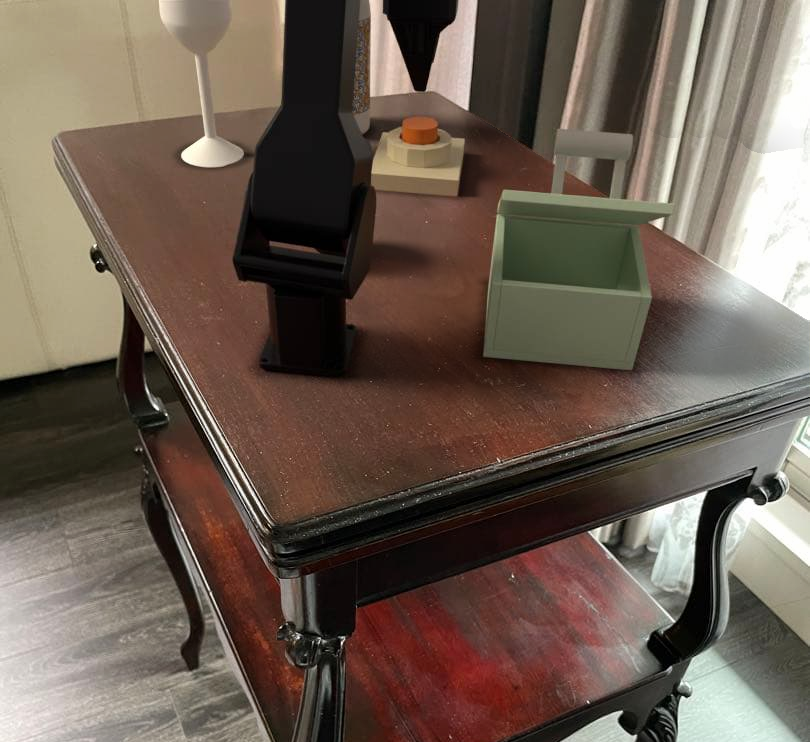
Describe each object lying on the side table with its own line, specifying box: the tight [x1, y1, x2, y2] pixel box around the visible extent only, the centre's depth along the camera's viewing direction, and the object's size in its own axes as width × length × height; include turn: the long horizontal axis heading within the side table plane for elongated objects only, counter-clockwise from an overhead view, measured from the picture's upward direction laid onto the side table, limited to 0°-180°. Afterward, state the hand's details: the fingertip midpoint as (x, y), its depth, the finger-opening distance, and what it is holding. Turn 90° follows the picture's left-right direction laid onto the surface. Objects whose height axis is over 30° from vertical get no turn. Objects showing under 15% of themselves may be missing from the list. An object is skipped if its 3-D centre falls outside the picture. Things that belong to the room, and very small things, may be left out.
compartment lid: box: [496, 128, 676, 226], centre depth 61 cm, size 12×11×5 cm
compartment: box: [482, 213, 653, 371], centre depth 66 cm, size 11×11×6 cm
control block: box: [371, 126, 466, 197], centre depth 87 cm, size 11×9×4 cm
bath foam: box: [353, 0, 372, 135], centre depth 89 cm, size 7×7×20 cm
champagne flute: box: [158, 0, 245, 168], centre depth 81 cm, size 7×7×24 cm
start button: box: [401, 116, 439, 145], centre depth 86 cm, size 4×4×2 cm
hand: (424, 76), depth 82 cm, fingers open, 8 cm apart
